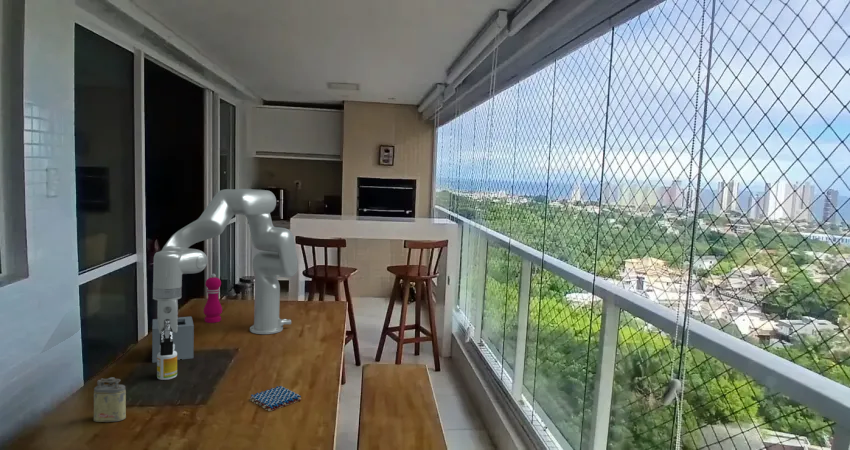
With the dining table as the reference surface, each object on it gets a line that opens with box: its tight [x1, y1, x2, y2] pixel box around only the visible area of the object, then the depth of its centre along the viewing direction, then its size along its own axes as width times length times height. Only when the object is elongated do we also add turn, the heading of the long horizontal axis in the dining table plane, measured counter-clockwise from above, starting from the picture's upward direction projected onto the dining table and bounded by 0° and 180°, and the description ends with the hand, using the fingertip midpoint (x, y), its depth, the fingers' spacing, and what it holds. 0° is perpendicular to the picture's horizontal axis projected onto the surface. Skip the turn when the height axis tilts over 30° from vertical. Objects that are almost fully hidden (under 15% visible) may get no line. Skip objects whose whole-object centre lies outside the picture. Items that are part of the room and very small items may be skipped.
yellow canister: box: [93, 376, 127, 423], centre depth 123 cm, size 7×4×10 cm, turn 97°
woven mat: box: [249, 385, 302, 412], centre depth 138 cm, size 10×11×2 cm
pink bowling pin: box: [203, 273, 223, 324], centre depth 209 cm, size 7×7×20 cm
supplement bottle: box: [156, 344, 178, 381], centre depth 150 cm, size 5×5×10 cm
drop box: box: [151, 316, 195, 364], centre depth 168 cm, size 12×12×11 cm
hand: (166, 349), depth 149 cm, fingers open, 9 cm apart
